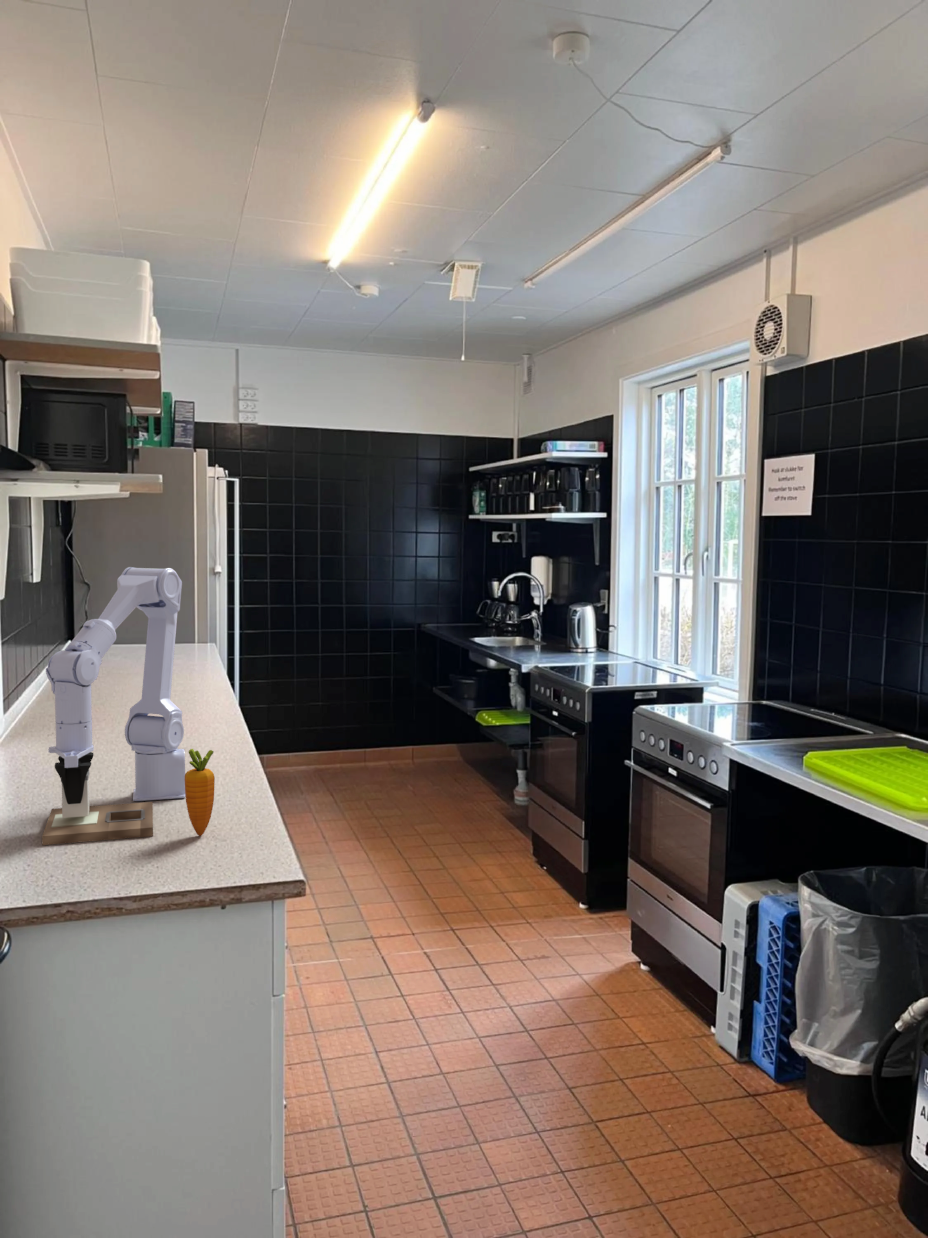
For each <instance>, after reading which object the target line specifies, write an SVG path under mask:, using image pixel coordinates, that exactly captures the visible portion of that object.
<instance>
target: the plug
mask: <svg viewBox="0 0 928 1238" xmlns="http://www.w3.org/2000/svg"><path fill="white" fill-rule="evenodd" d="M60 782H61V808H62V818H68V817H82V816H88V814H89V806H90V769H89V770H88V772H87V775H86V778H85V783H84V790H83V797H82V801H81V803H79V804H68V803H67V800H66V797H65V792H64V788H63V784H62V781H61V780H60Z"/></svg>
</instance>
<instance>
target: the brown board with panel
mask: <svg viewBox="0 0 928 1238" xmlns="http://www.w3.org/2000/svg"><path fill="white" fill-rule="evenodd" d="M153 803H154V802H153V801H145V802H144V801H142V802H132V803H131V802H129V803H120V804H119V803H118V804H105V805H103V804H102V805H89V814H88V816H82V817H68V818H62V807H60V808H51V810H50V814H49V816H48V819H47V822H46V824H45V827H44V830H43V832H42V834H41V835H42V836H41V842H42V843H41V845H42V846H49V845H61V844H73V843H75V844H76V843H86V842H98V841H99V842H100V841H109V840H110V841H111V840H122V839H135V838H147V837H153V836H154V817H153V816H154V809H153V808H154V807H153V805H154V804H153Z"/></svg>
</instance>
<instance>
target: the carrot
mask: <svg viewBox="0 0 928 1238" xmlns="http://www.w3.org/2000/svg"><path fill="white" fill-rule="evenodd" d="M188 754H189V757H190V759H191V760H192V761H191V760H190V761H189V765H191V766H192V767H193V768H192V769H190V770H188V771H185V796H186V797H185V804H186V808H187V813H188V818H189V821H190V823H191V826H192V827H193V829H194V832H195V833H196V834H197V836H198V837H201V836H203V834H205V833H206V830H207V828H208V826H209V823H210V821H211V818H212V812H213V807H214V802H215V801H214V800H215V781H216V779H215V773H214V772H213V771H212V770H211V769H210V768H208V767H207V768H206V766H207V765H208V763H209V761H210V759H211V758H212V755H213V754H214V750H212V749H209V750H208V751H207V753H206V754H205V756H204V757H202V755H201V752H200V751H199V750H195V749H194V748H190V749H189V750H188Z"/></svg>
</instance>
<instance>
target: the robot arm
mask: <svg viewBox="0 0 928 1238" xmlns="http://www.w3.org/2000/svg"><path fill="white" fill-rule="evenodd" d="M116 587H117V590H116V591H115V592H114V594H113V596H112V597H111V599H110V601H109V602H108V604H107V605H106V606H105V608H104V610H102V613H101V614H100V615H99V617H98V618H92V619H89V620H86V621H85V622H84V623H83V624H82V628H81V629H80V630H79V631H78V633H77V634H76V635H75V636H74V638H73V639H72V640H71V641H70V643H68V645H67V646H66V648H64V650H58V651H56V652H55V653H54V654H53V655H51V657H50V658H49V660H48V663H47V667H45V674H46V678H47V679H48V680H49V682H50V686H51V692H52V694H53V695H54V709H55V710H54V712H55V715H54V716H55V718H54V719H55V746H50V747H48V750H47V751H48V753H49V754H54V753H55V754H56V755H58V758H57V760H58V762H55V763H54V769H55V771H56V773H57V774H58V777H59V778H60V782H61V781H62V782H61V785H62V784H63V788H64V792H65V797H66V800H67V803H68V804H79V803H81V801H82V797H83V790H84V783H85V778H86V775H87V772H88V770H89V771H90V768H91V766H92V762H91V761H92V760H93V758H94V754H95V753H94V752H93V751H94V749H95V746H94V744H93V720H92V719H93V718H92V717H93V715H92V713H93V712H92V708H93V707H92V704H93V703H92V684H94V682H95V681H96V680H98V679H97V678H98V677H99V672H100V667H101V665H102V663H103V660H102V659H103V658H104V656H105V655H106V654H107V652H108V651H109V650H110V649H111V647H112V646H113V644H114V643H115V642H116V640H117V633H116V630H117V629H118V627H120V626H121V624H122V623H123V622H124V621H125V620H126V619H127V618H128V617H129V616H130V615H131V613H132V612H133V611H134V610H135V609H136V608H137V609H138V610H140V611H142V613H144V614H145V616H146V617H147V619H148V620H147V632H146V641H145V654H144V664H143V665H144V666H143V678H142V689H141V690H142V691H141V699H140V700H139V701H136V703H135V704H133V705H132V706H131V707H130V709H129V714H128V719H127V722H126V724H125V726H124V737H125V741H126V743H127V745H129V746H130V747H131V751H133V752H134V770H135V771H134V776H135V780H134V781H135V782H134V783H135V784H134V785H135V788H133V793H132V800H133V802H144V801H145V802H146V801H157V800H158V801H159V800H172V799H174V800H175V799H186V796H185V773H186V754H185V753H186V751H185V749H183V748H179V746H180V745H181V743H182V742H183V738H184V735H185V729H184V728H185V727H184V725H183V711H182V709H180V707H178V706H177V705H176V704H175V703H174V702H173V701H172V700H171V695H172V685H173V684H172V683H173V673H174V659H175V658H174V657H175V647H176V635H177V634H176V633H177V624H178V623H177V621H178V612H180V611H181V600H182V599H181V598H182V587H183V581H182V579H181V578H180V576H179V575H178V573H177V571H176V570H174V569H173V568H171V567H165V568H152V567H149V568H147V567H145V568H144V567H136V566H135V567H134V566H133V567H132V566H128V567H126V568H125V569H124V570H123V571H122V573H121V575H119V577H118V578H117V580H116ZM150 714H152V715H150ZM157 715H160V716H157Z"/></svg>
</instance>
